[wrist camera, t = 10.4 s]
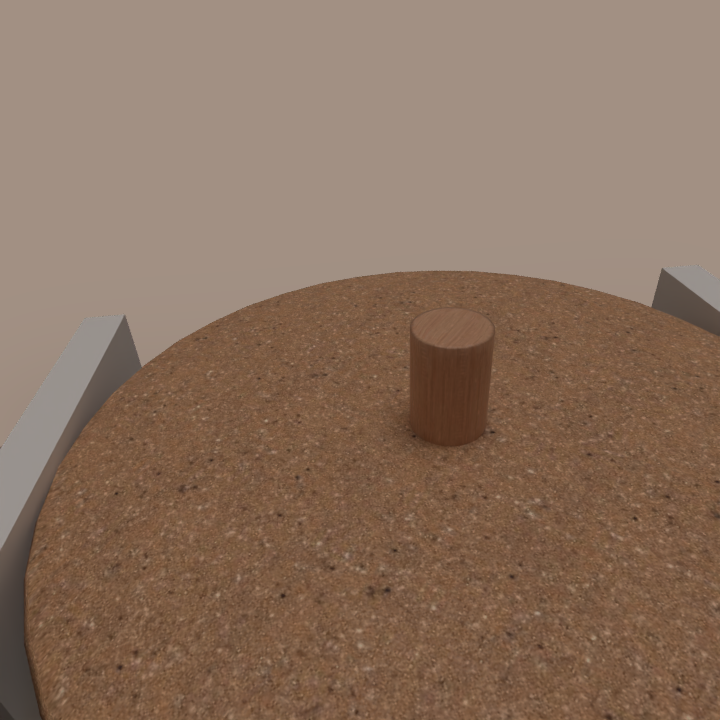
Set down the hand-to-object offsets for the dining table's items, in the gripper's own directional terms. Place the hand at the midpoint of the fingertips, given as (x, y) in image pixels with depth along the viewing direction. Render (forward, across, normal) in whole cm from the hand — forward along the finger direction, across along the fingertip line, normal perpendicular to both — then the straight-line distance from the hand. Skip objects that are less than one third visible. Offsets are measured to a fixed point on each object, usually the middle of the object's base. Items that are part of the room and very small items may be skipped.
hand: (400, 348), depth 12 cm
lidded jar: (-4, 0, -7) cm, 8 cm away
